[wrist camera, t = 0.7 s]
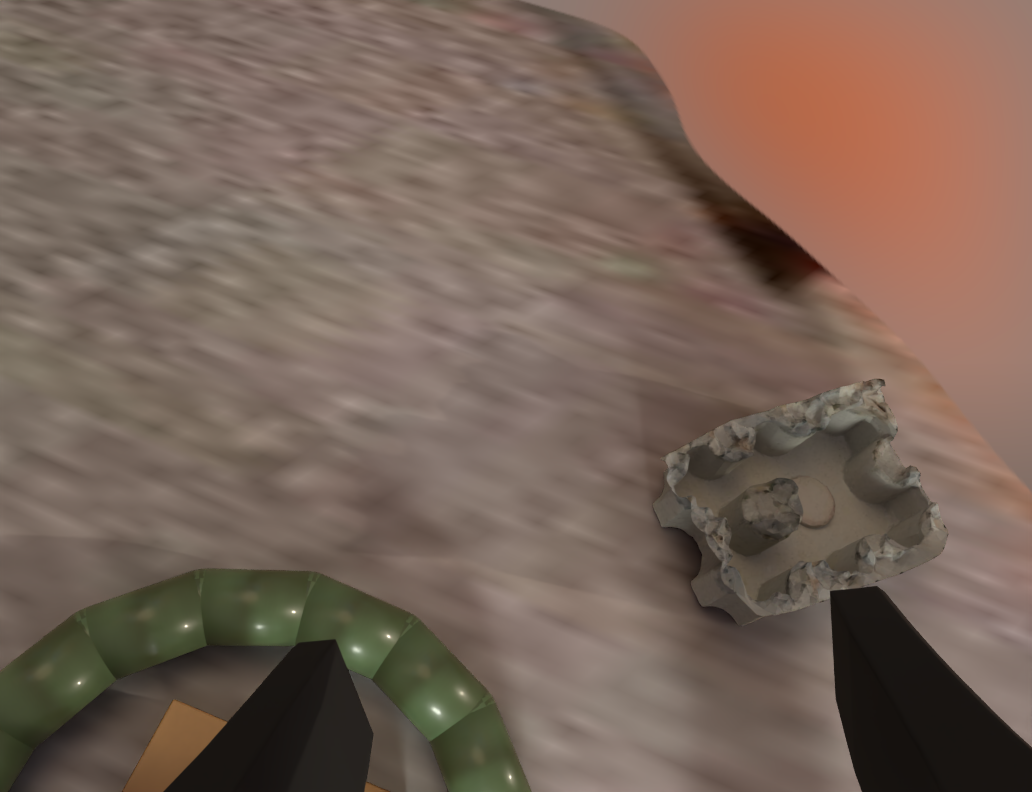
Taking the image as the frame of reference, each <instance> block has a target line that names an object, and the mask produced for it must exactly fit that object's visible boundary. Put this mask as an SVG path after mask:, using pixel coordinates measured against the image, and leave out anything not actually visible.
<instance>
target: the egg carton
mask: <svg viewBox="0 0 1032 792" xmlns="http://www.w3.org/2000/svg"><path fill="white" fill-rule="evenodd" d="M882 386H885V381H884V380H882V379H873V380H869V381H866V382H864V381H862V382H858V383H854V384H852V385H849V386H844V387H839V388H837V389H833V390H830V391H827V392H824V393H821V394H818V395H816V396H814V397H812V398H810V399H807V400H804V401H800V402H796V403H791V404H786V405H782V406H778V407H776V408H773V409H771V410H769V411H765V412H761V413H757V414H753V415H750V416H747V417H743V418H739V419H735V420H731V421H729V422H727V423H725V424H724V425H722V426H720V427H718V428H716V429H714V430H712V431H710V432H708V433H706V434H704V435H703V436H701V437H699V438H697V439H696V440H694V441H692V442H690V443H688V444H687V445H685V446H683V447H681V448H679V449H677V450H675V451H673V452H671V453H669V454H667V455H666V456H664V457H662V458H661V460H663V461H665V462H666V464H667V466H668V469H667V470H665V472H664V473H663V474H664V485H665V486H664V489H663V492H662V494H661V496H660V497H659V498H658V499H657V500H656V501H655V502H654V503H653V508H654V510H655V513H656V515H657V517H658V519H659V521H660V525H661V526H662V527H663V528H665V527H670V526H671V527H676V528H679V529H682V530H683V531H685V532H686V533H687V534H688V535H690V536H692V537H693V538H694V540H695V541H696V542H697V544H698V546H699V550H700V551H701V553H702V562H701V569H700V572H699V574H698V576H697V577H695V578H694V579H693V580H692V581H691V587H692V589H693V591H694V593H695V594H696V596H697V599H698V602H699V603H700V604H701V606H702V607H707V606H715V607H718V608H721V609H724V610H725V611H726V612H728V613H729V614H730V615H731V616H732V617H733V619H734V620H735V621H736V623H737V624H738V625H739V626H744V625H746V624H749V623H752V622H754V621H756V620H758V619H760V618H762V617H765V616H770V615H778V614H783V613H787V612H791V611H796V610H799V609H802V608H805V607H808V606H811V605H813V604H815V603H818V602H823V601H826V600H828V599H830V591H833V590H843V589H854V588H861V587H863V586H866V585H869V584H871V583H874V582H877V581H880V580H883V579H886V578H888V577H892V576H895V575H898V574H901V573H903V572H906V571H908V570H910V569H912V568H915V567H917V566H919V565H921V564H923V563H926V562H928V561H930V560H932V559H933V558H935V557H937V556H938V555H940V554H941V552H942V551H943V549H944V547H945V544H946V540H947V537H948V531H947V529H946V527H945V525H944V524H943V522H942V520H941V516H940V513H939V509H938V504H937V503H935V502H934V503H933V502H931V501H930V499H929V498H928V497H927V495H926V494H925V492H924V490H923V488H922V486H921V483H920V472H919V471H918V469H917V468H916V467H913V466H909V467H907V468H905V467H904V466H903V465H902V463H901V461H900V459H899V457H898V456H897V454H896V453H895V451H894V450H893V448H892V446H891V445H890V441H892V440H893V439H894V437H895V435H896V433H897V423H896V420H895V417H894V415H893V413H892V411H891V409H890V408H889V406H888V405H887V404H886V403H885V400H884V396H883V394H882V392H881V389H880V388H881V387H882Z"/></svg>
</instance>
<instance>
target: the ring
mask: <svg viewBox="0 0 1032 792" xmlns="http://www.w3.org/2000/svg"><path fill="white" fill-rule="evenodd" d="M330 639H336V641H337V644H338V646H339V649H340V651H341V654H342V656H343V659H344V661H345V664H346V666H347V669H349V670H352V671H354V672H356V673H358V674H361V675H363V676H365V677H368V678H370V679H372V680H373V681H374V682H375V683H376V684H377V685H378V687H379V688H380V689H381V690H382V691H383V692H384V693H385V694H386V695H387V696H388V697H389V698H390V699H391V701H392V702H393V703H394V704H395V705H396V706H397V707H398V708H399V709H400V710H401V711H402V712H403V713H404V714H405V716H406V717H407V718H408V719H409V720H410V721H411V722H412V723H413V724H414V725H415V726H416V727H417V728H418V730H419V731H420V732H421V733H422V734H423V735H424V736H425V737H426V738H427V739H428V740H429V741H430V744H431V746H432V749H433V752H434V754H435V757H436V760H437V762H438V765H439V768H440V770H441V773H442V776H443V778H444V781H445V784H446V786H447V789H448V792H532V791H531V789H530V786H529V784H528V781H527V779H526V776H525V774H524V772H523V769H522V767H521V764H520V762H519V759H518V757H517V754H516V752H515V749H514V747H513V745H512V742H511V740H510V737H509V735H508V732H507V730H506V727H505V725H504V722H503V720H502V717H501V715H500V713H499V710H498V708H497V705H496V703H495V701H494V699H493V697H492V695H491V694H490V693H489V692H488V690H487V689H486V688H485V687H484V686H483V685H482V684H481V683H480V682H479V681H478V680H477V679H476V678H475V677H474V676H473V675H472V674H471V673H470V671H469V670H468V669H467V668H466V667H465V666H464V665H463V664H462V663H461V662H460V661H459V660H458V659H457V658H456V657H455V656H454V655H453V654H452V653H451V652H450V651H449V650H448V648H447V647H446V646H445V645H444V644H443V643H442V642H441V641H440V640H439V639H438V638H437V637H436V636H435V635H434V634H433V633H432V632H431V631H430V630H429V629H428V628H427V627H426V625H425V624H424V623H423V622H422V621H421V620H420V619H418V618H417V617H416V616H415V615H413V614H411V613H410V612H407V611H405V610H403V609H401V608H398V607H396V606H394V605H391V604H389V603H387V602H385V601H382V600H380V599H378V598H375V597H373V596H371V595H369V594H366V593H364V592H362V591H359V590H357V589H355V588H353V587H350V586H348V585H346V584H343V583H341V582H339V581H337V580H334V579H332V578H330V577H327V576H325V575H323V574H320V573H317V572H311V571H286V570H247V569H199V570H194V571H191V572H188V573H185V574H182V575H179V576H176V577H173V578H170V579H167V580H165V581H162V582H159V583H156V584H153V585H150V586H147V587H144V588H141V589H138V590H135V591H133V592H130V593H127V594H124V595H121V596H118V597H115V598H112V599H109V600H106V601H103V602H101V603H98V604H95V605H92V606H89V607H86V608H84V609H82V610H80V611H78V612H76V613H75V614H73V615H72V616H70V617H69V618H68V619H67V620H65V621H64V622H63V623H61V624H60V625H59V626H58V627H56V628H55V629H54V630H52V631H51V632H50V633H48V634H47V635H46V636H45V637H43V638H42V639H41V640H39V641H38V642H37V643H36V644H34V645H33V646H32V647H30V648H29V649H28V650H27V651H25V652H24V653H23V654H21V655H20V656H19V657H18V658H16V659H15V660H14V661H12V662H11V663H10V664H8V665H7V666H6V667H5V668H3V669H2V670H1V671H0V792H8V791H9V790H10V788H11V786H12V785H13V783H14V782H15V780H16V778H17V777H18V775H19V773H20V772H21V770H22V769H23V767H24V765H25V764H26V762H27V761H28V759H29V757H30V756H31V754H32V752H33V751H34V749H35V748H36V747H37V746H38V745H40V744H41V743H42V742H43V741H44V740H46V739H47V738H48V737H49V736H50V735H52V734H53V733H54V732H55V731H56V730H58V729H59V728H60V727H61V726H62V725H63V724H65V723H66V722H67V721H68V720H69V719H71V718H72V717H73V716H74V715H75V714H77V713H78V712H79V711H80V710H81V709H83V708H84V707H85V706H86V705H87V704H89V703H90V702H91V701H92V700H93V699H95V698H96V697H97V696H98V695H99V694H101V693H102V692H103V691H104V690H105V689H107V688H108V687H109V686H110V685H111V684H113V683H114V682H115V681H116V680H117V679H120V678H123V677H125V676H128V675H131V674H133V673H136V672H138V671H141V670H144V669H146V668H149V667H152V666H154V665H157V664H160V663H162V662H165V661H168V660H170V659H173V658H175V657H178V656H181V655H183V654H186V653H189V652H191V651H194V650H197V649H199V648H202V647H205V646H207V645H213V646H296V645H297V643H299V642H309V641H319V640H330Z"/></svg>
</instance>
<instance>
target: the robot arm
mask: <svg viewBox="0 0 1032 792" xmlns="http://www.w3.org/2000/svg"><path fill="white" fill-rule="evenodd" d="M830 602H831V620H832V638H833V657H834V675H835V694H836V702H837V706H838V709H839V713H840V717H841V721H842V725H843V729H844V733H845V737H846V741H847V745H848V748H849V752H850V756H851V760H852V763H853V767H854V771H855V774H856V777H857V779H858V782H859V785H860V787H861V790H862V792H1032V747H1031V746H1030V745H1029V744H1027V743H1026V742H1025V741H1024V740H1023V739H1022V738H1021V737H1020V736H1019V735H1018V734H1016V733H1015V732H1014V731H1013V730H1012V729H1011V728H1010V727H1009V726H1008V725H1007V724H1006V723H1005V722H1004V721H1003V720H1002V719H1001V718H1000V717H999V716H998V715H997V714H996V713H995V712H994V711H993V710H992V709H991V708H990V707H989V706H988V705H987V704H986V703H985V702H984V701H983V700H982V699H981V698H980V697H979V696H978V695H977V694H976V693H975V692H974V691H973V690H972V689H971V688H970V687H969V686H968V685H967V684H966V683H965V682H964V681H963V680H962V679H961V678H960V677H959V676H958V675H957V674H956V673H955V672H954V671H953V670H952V669H951V668H950V667H949V666H948V665H947V663H946V662H945V661H944V660H943V659H942V658H941V657H940V656H939V655H938V654H937V653H936V651H935V650H934V649H933V648H932V647H931V646H930V645H929V644H928V643H927V642H926V640H925V639H924V638H923V637H922V636H921V635H920V634H919V632H918V631H917V630H916V629H915V628H914V627H913V626H912V624H911V623H910V622H909V621H908V620H907V619H906V617H905V616H904V615H903V614H902V613H901V611H900V610H899V609H898V608H897V606H896V605H895V604H894V603H893V602H892V600H891V599H890V598H889V596H888V595H887V594H886V593H885V592H884V591H883V590H881V589H880V588H879V587H877V586H874V587H864V588H854V589H843V590H833V591H830ZM372 740H373V732H372V729H371V727H370V724H369V722H368V719H367V717H366V714H365V712H364V709H363V707H362V704H361V702H360V699H359V697H358V694H357V691H356V689H355V686H354V684H353V681H352V679H351V676H350V674H349V671H348V669H347V666H346V664H345V661H344V659H343V656H342V654H341V651H340V649H339V646H338V644H337V641H336V639H330V640H319V641H309V642H299V643H297V645H296V646H295V647H294V648H293V649H292V650H291V651H290V652H289V653H288V654H287V655H286V656H285V657H284V659H283V660H282V661H281V662H280V663H279V664H278V665H277V667H276V668H275V669H274V670H273V671H272V672H271V673H270V675H269V676H268V677H267V678H266V679H265V680H264V681H263V683H262V684H261V685H260V686H259V687H258V688H257V689H256V691H255V692H254V693H253V694H252V695H251V696H250V698H249V699H248V700H247V701H246V702H245V703H244V704H243V706H242V707H241V708H240V709H239V710H238V711H237V712H236V713H235V715H234V716H233V717H232V718H231V719H230V720H229V721H228V722H227V724H226V725H225V726H224V727H223V728H222V729H221V730H220V731H219V733H218V734H217V735H216V736H215V737H214V738H213V739H212V740H211V742H210V743H209V744H208V745H207V746H206V747H205V748H204V749H203V750H202V752H201V753H200V754H199V755H198V756H197V757H196V758H195V759H194V760H193V761H192V762H191V763H190V764H189V765H188V766H187V767H186V768H185V769H184V771H183V772H182V773H181V774H180V775H179V776H178V777H177V778H176V779H175V780H174V781H173V782H172V783H171V784H170V785H169V786H168V787H167V788H166V789H165V790H164V791H163V792H364V791H365V785H366V779H367V774H368V767H369V761H370V754H371V747H372Z"/></svg>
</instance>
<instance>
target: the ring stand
mask: <svg viewBox="0 0 1032 792" xmlns="http://www.w3.org/2000/svg"><path fill="white" fill-rule="evenodd" d="M226 724H227V721H224V720H222V719H220V718H217V717H215V716H213V715H210V714H208V713H206V712H203V711H201V710H199V709H197V708H194V707H192V706H190V705H187V704H185V703H183V702H180V701H178V700H176V699H174V700H172V702H171V704H170V706H169V708H168V709H167V711H166V713H165V715H164V717H163V718H162V720H161V722H160V724H159V726H158V727H157V729H156V731H155V733H154V735H153V736H152V738H151V740H150V742H149V744H148V745H147V747H146V749H145V751H144V753H143V755H142V756H141V758H140V760H139V762H138V764H137V765H136V767H135V769H134V771H133V773H132V774H131V776H130V778H129V780H128V782H127V783H126V785H125V787H124V789H123V791H122V792H163V791H164V790H165V789H166V788H167V787H168V786H169V785H170V784H171V783H172V782H173V781H174V780H175V779H176V778H177V777H178V776H179V775H180V774H181V773H182V772H183V771H184V769H185V768H186V767H187V766H188V765H189V764H190V763H191V762H192V761H193V760H194V759H195V758H196V757H197V756H198V755H199V754H200V753H201V752H202V750H203V749H204V748H205V747H206V746H207V745H208V744H209V743H210V742H211V740H212V739H213V738H214V737H215V736H216V735H217V734H218V733H219V731H220V730H221V729H222V728H223V727H224V726H225V725H226ZM364 792H390V791H387V790H385V789H383V788H380V787H378V786H376V785H373V784H371V783H369V782H366V785H365V791H364Z"/></svg>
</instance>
